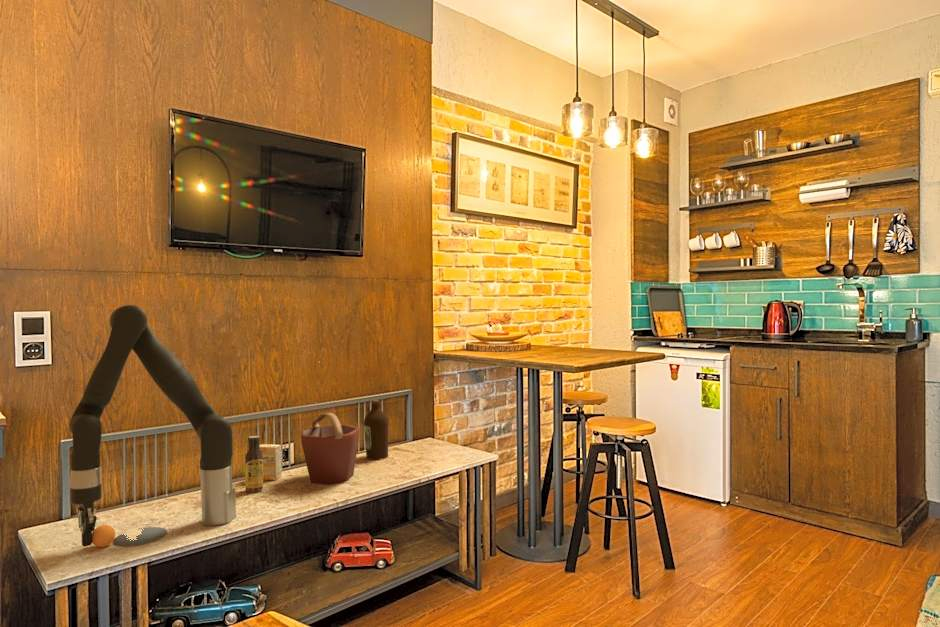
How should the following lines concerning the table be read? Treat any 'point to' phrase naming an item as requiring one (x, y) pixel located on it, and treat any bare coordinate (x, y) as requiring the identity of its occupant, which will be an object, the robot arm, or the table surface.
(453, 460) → the table surface
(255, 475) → the sauce bottle
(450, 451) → the table surface
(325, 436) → the bucket
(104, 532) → the ball
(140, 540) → the dark grey flat disc
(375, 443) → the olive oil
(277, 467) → the supplement box
